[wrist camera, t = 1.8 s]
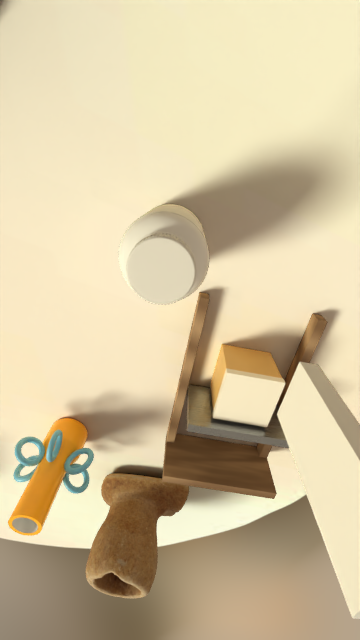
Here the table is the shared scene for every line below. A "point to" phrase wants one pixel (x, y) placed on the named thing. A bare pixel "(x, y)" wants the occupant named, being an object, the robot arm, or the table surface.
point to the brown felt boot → (131, 533)
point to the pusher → (206, 424)
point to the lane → (219, 456)
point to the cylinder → (49, 473)
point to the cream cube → (245, 386)
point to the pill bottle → (164, 254)
